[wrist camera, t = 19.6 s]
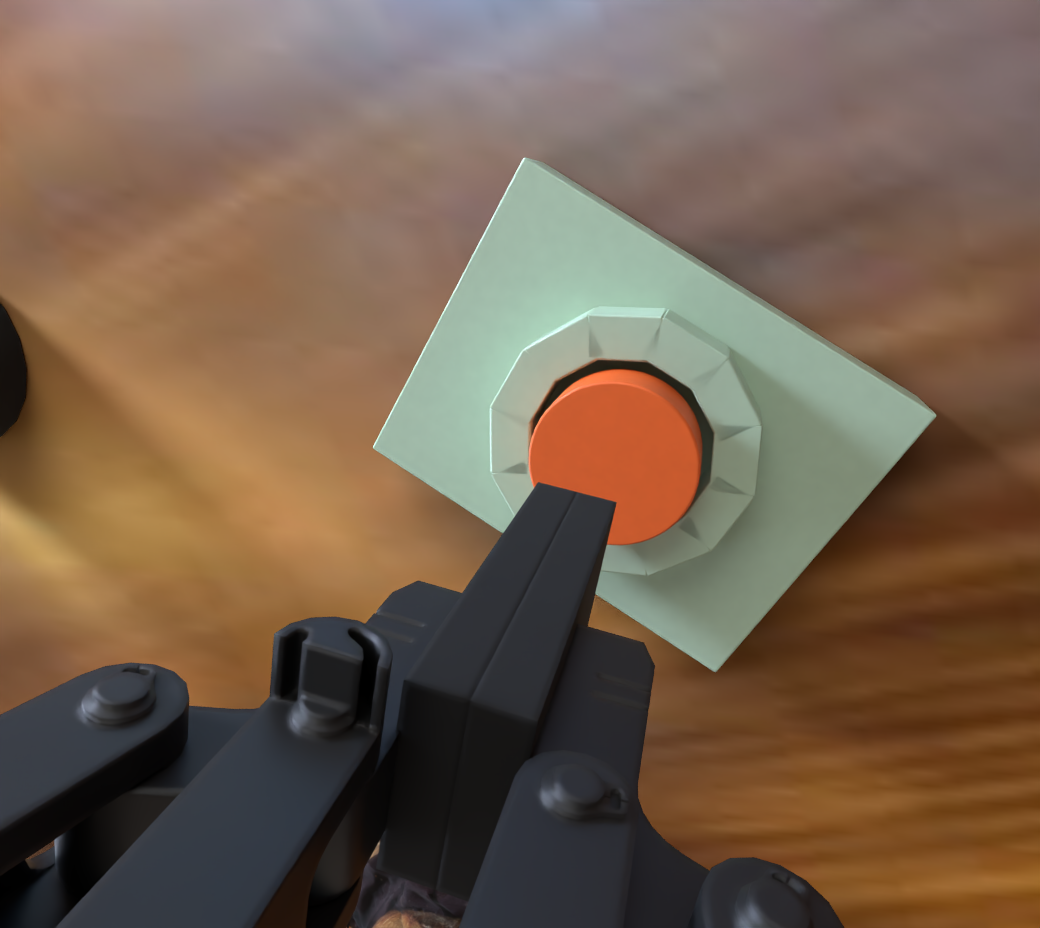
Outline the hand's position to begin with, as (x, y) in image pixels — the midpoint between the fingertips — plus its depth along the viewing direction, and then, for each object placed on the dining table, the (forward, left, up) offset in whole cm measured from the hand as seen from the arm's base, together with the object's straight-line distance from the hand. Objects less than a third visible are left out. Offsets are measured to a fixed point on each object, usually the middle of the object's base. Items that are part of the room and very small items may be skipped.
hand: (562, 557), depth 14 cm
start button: (0, 0, -7) cm, 7 cm away
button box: (0, 0, -11) cm, 11 cm away
